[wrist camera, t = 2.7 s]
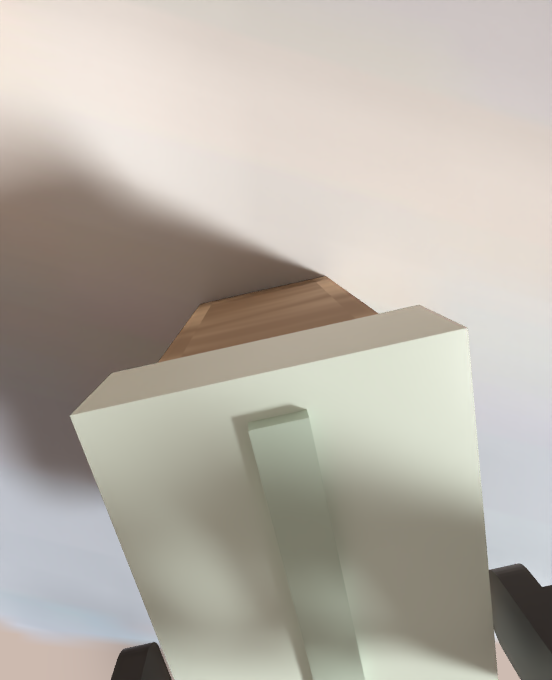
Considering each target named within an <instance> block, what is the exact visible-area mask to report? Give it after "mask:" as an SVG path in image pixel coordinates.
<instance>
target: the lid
mask: <svg viewBox="0 0 552 680" xmlns="http://www.w3.org/2000/svg"><path fill="white" fill-rule="evenodd" d="M70 418H71V420H72V423H73V425H74V428H75V430H76V433H77V435H78V438H79V440H80V443H81V445H82V448H83V450H84V453H85V456H86V458H87V461H88V463H89V466H90V468H91V471H92V473H93V476H94V478H95V481H96V483H97V486H98V488H99V491H100V493H101V496H102V498H103V501H104V504H105V506H106V509H107V511H108V514H109V516H110V519H111V521H112V524H113V526H114V529H115V531H116V534H117V536H118V539H119V541H120V544H121V546H122V549H123V552H124V554H125V557H126V559H127V562H128V564H129V567H130V569H131V572H132V574H133V577H134V579H135V582H136V584H137V587H138V589H139V592H140V594H141V597H142V600H143V602H144V605H145V607H146V610H147V612H148V615H149V617H150V620H151V622H152V625H153V627H154V630H155V632H156V635H157V637H158V640H159V642H160V645H161V648H162V650H163V653H164V655H165V658H166V660H167V663H168V665H169V668H170V670H171V673H172V675H173V678H174V680H498V674H497V662H496V651H495V639H494V627H493V615H492V604H491V592H490V581H489V569H488V558H487V546H486V535H485V523H484V512H483V500H482V489H481V477H480V465H479V454H478V442H477V431H476V419H475V408H474V396H473V385H472V373H471V362H470V350H469V339H468V328H467V327H465V326H463V325H460V324H458V323H456V322H454V321H452V320H450V319H448V318H446V317H444V316H442V315H440V314H438V313H435V312H433V311H431V310H429V309H427V308H425V307H423V306H421V305H416V306H412V307H407V308H403V309H398V310H394V311H389V312H385V313H380V314H375V315H371V316H366V317H362V318H357V319H353V320H348V321H344V322H339V323H335V324H330V325H326V326H321V327H317V328H312V329H308V330H303V331H299V332H294V333H290V334H285V335H281V336H276V337H272V338H267V339H263V340H258V341H254V342H249V343H245V344H240V345H236V346H231V347H227V348H222V349H218V350H213V351H208V352H204V353H199V354H195V355H190V356H186V357H181V358H177V359H172V360H168V361H163V362H159V363H154V364H150V365H145V366H141V367H136V368H132V369H127V370H123V371H118V372H114V373H111V374H110V375H109V376H108V377H107V378H106V379H105V380H104V381H103V382H102V383H101V384H100V385H99V386H98V387H97V388H96V390H95V391H94V392H93V393H92V394H91V395H90V396H89V397H88V398H87V399H86V400H85V401H84V402H83V403H82V404H81V405H80V406H79V407H78V408H77V409H76V410H75V411H74V412H73V413H72V414H71V415H70Z"/></svg>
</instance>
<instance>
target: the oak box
mask: <svg viewBox="0 0 552 680" xmlns="http://www.w3.org/2000/svg"><path fill="white" fill-rule="evenodd" d="M375 314H378V313H377V312H375V311H374V310H373V309H371V308H370V307H368V306H367V305H366V304H364V303H363V302H361V301H360V300H359V299H357V298H356V297H354V296H353V295H352V294H350V293H349V292H347V291H346V290H345V289H343V288H342V287H340V286H339V285H338V284H336V283H335V282H333V281H332V280H331V279H329V278H328V277H326V276H324V277H319V278H315V279H310V280H306V281H302V282H297V283H293V284H288V285H284V286H279V287H275V288H270V289H266V290H261V291H257V292H252V293H248V294H243V295H239V296H234V297H230V298H225V299H221V300H216V301H212V302H207V303H203V304H200V305H199V307H198V308H197V309H196V311H195V312H194V313H193V315H192V316H191V318H190V319H189V320H188V322H187V323H186V324H185V326H184V327H183V329H182V330H181V331H180V333H179V334H178V335H177V337H176V338H175V340H174V341H173V342H172V344H171V345H170V346H169V348H168V349H167V351H166V352H165V353H164V355H163V356H162V357H161V359H160V360H159V362H163V361H168V360H172V359H177V358H181V357H186V356H190V355H195V354H199V353H204V352H208V351H213V350H218V349H222V348H227V347H231V346H236V345H240V344H245V343H249V342H254V341H258V340H263V339H267V338H272V337H276V336H281V335H285V334H290V333H294V332H299V331H303V330H308V329H312V328H317V327H321V326H326V325H330V324H335V323H339V322H344V321H348V320H353V319H357V318H362V317H366V316H371V315H375ZM159 362H158V363H159Z"/></svg>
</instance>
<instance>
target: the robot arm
mask: <svg viewBox="0 0 552 680" xmlns="http://www.w3.org/2000/svg"><path fill="white" fill-rule="evenodd" d="M489 581H490V592H491V604H492V615H493V627H494V631H495V633H496V636H497V638H498V640H499V643H500V645H501V647H502V648H503V650H504V652H505V654H506V655H507V657H508V659H509V661H510V662H511V664H512V666H513V667H514V669H515V671H516V672H517V674H518V676H519V677H520V679H521V680H552V585H550V586H545V587H541V585H540V584H539V583H538V582H537V580H536V579H535V578H534V577H533V576H532V574H531V573H530V572H529V571H528V569H527V568H526V567H525V566H523V565H522V564H514V565H510V566H505V567H500V568H496V569H491V570H489ZM111 680H171V677H170V674H169V672H168V669H167V667H166V664H165V662H164V659H163V656H162V654H161V651H160V649H159V646H158V645H157V643H155V642H153V643H148V644H144V645H139V646H135V647H130V648H125V649H123V650H122V651H121V653H120V654H119V657H118V659H117V662H116V665H115V668H114V672H113V675H112V678H111Z"/></svg>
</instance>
